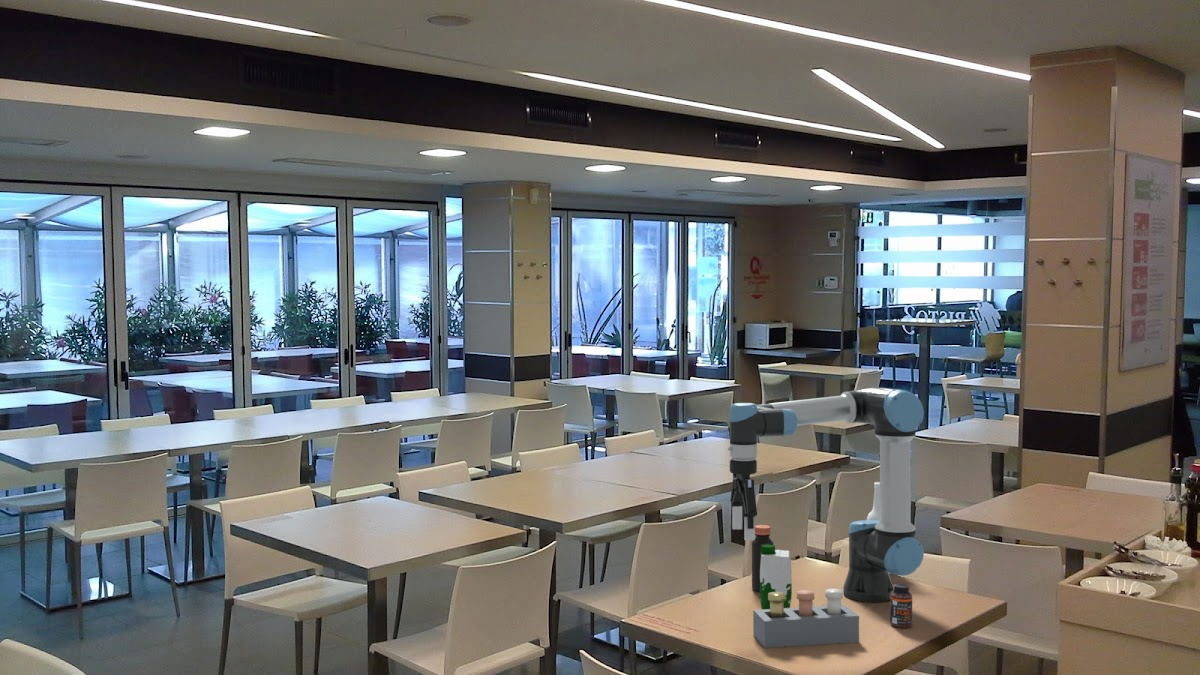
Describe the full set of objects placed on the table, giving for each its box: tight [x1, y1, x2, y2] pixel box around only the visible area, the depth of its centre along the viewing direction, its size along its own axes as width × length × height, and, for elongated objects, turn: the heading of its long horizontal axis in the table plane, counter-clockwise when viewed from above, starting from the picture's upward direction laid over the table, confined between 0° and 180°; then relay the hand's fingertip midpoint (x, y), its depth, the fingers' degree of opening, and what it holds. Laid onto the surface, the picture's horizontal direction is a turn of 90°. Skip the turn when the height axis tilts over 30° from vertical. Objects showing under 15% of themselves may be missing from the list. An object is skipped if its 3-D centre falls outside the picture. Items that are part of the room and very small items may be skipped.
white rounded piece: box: [824, 588, 844, 615], centre depth 271 cm, size 5×5×7 cm
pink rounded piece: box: [796, 589, 815, 617], centre depth 270 cm, size 5×5×7 cm
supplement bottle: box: [889, 583, 913, 629], centre depth 280 cm, size 6×6×11 cm
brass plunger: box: [768, 592, 786, 618], centre depth 269 cm, size 5×5×7 cm
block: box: [752, 604, 860, 649], centre depth 270 cm, size 26×10×7 cm, turn 98°
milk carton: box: [759, 544, 793, 610], centre depth 292 cm, size 9×9×20 cm
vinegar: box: [751, 524, 774, 593], centre depth 317 cm, size 7×7×20 cm
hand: (743, 534), depth 281 cm, fingers open, 13 cm apart
